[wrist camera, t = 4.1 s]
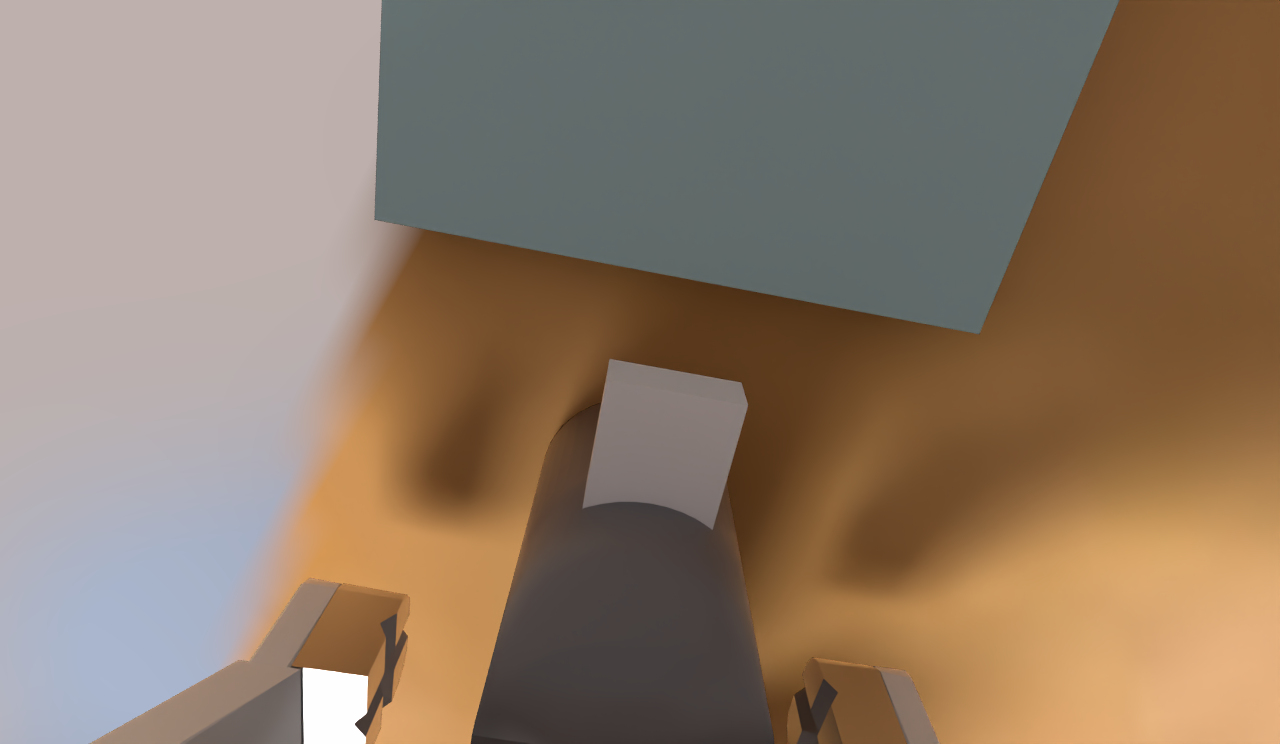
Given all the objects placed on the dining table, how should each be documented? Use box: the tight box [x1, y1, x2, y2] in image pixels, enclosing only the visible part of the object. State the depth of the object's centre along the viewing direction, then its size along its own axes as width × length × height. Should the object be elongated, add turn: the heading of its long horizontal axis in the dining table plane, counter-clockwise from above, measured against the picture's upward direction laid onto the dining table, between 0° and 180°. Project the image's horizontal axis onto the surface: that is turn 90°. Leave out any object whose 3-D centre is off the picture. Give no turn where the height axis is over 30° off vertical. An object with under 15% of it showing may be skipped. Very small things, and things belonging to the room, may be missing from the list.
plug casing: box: [471, 359, 774, 744], centre depth 10 cm, size 3×9×5 cm, turn 169°
